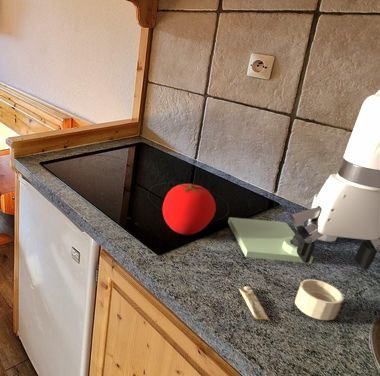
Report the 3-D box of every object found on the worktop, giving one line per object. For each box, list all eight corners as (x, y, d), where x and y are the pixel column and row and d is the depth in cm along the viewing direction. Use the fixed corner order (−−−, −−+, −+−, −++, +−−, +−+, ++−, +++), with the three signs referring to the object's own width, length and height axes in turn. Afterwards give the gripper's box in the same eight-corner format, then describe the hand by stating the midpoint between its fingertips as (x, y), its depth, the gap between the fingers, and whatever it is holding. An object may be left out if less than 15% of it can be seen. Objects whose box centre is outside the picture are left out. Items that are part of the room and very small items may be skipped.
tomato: (158, 237, 99) (166, 191, 94) (160, 215, 109) (167, 172, 104) (211, 246, 96) (222, 199, 91) (208, 223, 106) (218, 179, 101)
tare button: (303, 242, 93) (305, 235, 92) (308, 249, 90) (311, 242, 90) (289, 240, 93) (291, 234, 93) (294, 247, 91) (296, 241, 90)
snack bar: (272, 321, 73) (257, 315, 73) (267, 326, 74) (252, 321, 73) (251, 286, 81) (238, 281, 81) (247, 291, 82) (234, 286, 82)
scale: (286, 228, 105) (289, 216, 103) (314, 265, 90) (319, 252, 89) (227, 222, 107) (230, 211, 105) (246, 258, 92) (249, 245, 90)
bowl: (325, 299, 80) (332, 281, 78) (342, 324, 73) (351, 305, 72) (288, 295, 80) (294, 277, 79) (302, 320, 74) (310, 300, 72)
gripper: (410, 169, 67) (371, 255, 75) (299, 160, 69) (272, 244, 77) (443, 188, 61) (397, 280, 68) (320, 177, 63) (288, 268, 70)
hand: (331, 261), depth 72 cm, fingers open, 9 cm apart
